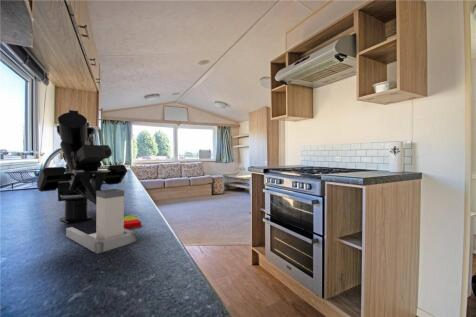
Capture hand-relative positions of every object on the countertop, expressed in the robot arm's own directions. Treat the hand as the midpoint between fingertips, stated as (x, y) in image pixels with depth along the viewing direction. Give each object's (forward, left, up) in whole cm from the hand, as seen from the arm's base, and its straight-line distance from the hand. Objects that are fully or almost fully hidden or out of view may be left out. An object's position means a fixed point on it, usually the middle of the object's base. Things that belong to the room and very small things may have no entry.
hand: (98, 203), depth 56 cm
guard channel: (+2, 0, -8) cm, 8 cm away
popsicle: (-7, +11, -9) cm, 16 cm away
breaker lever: (+7, 0, -7) cm, 10 cm away
